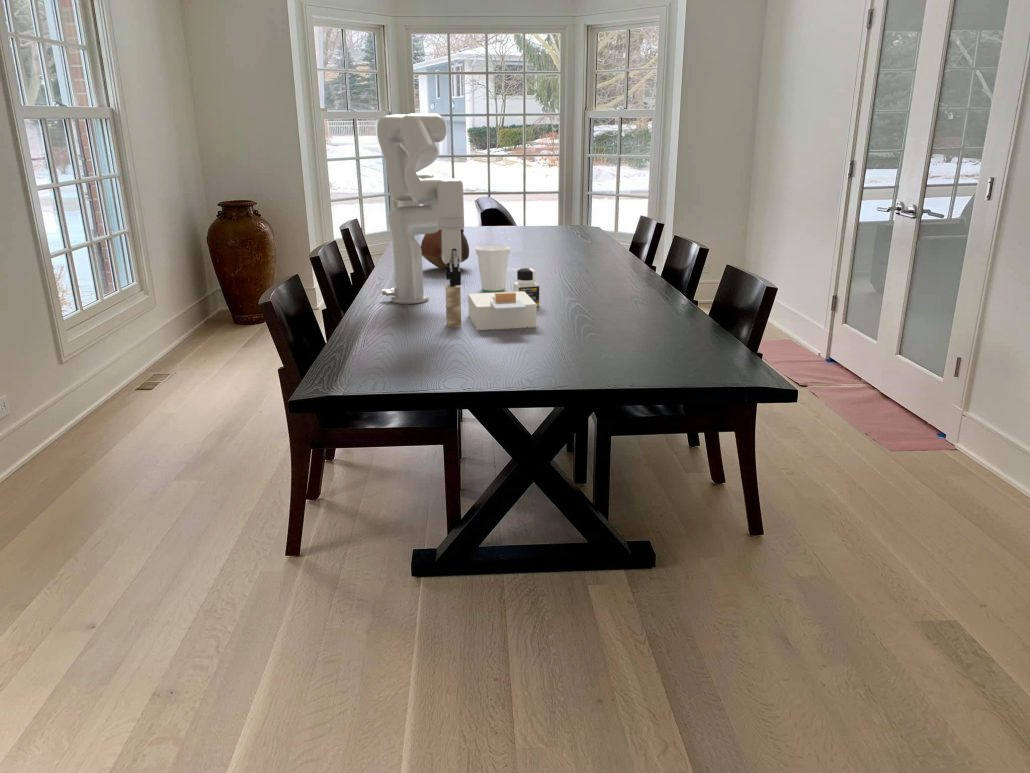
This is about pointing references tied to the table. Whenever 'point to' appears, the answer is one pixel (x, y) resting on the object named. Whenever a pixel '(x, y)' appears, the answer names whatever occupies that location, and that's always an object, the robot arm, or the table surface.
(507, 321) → the socket
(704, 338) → the table surface
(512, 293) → the grey tile with orange
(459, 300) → the plug
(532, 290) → the medicine bottle
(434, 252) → the vase
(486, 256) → the cup
